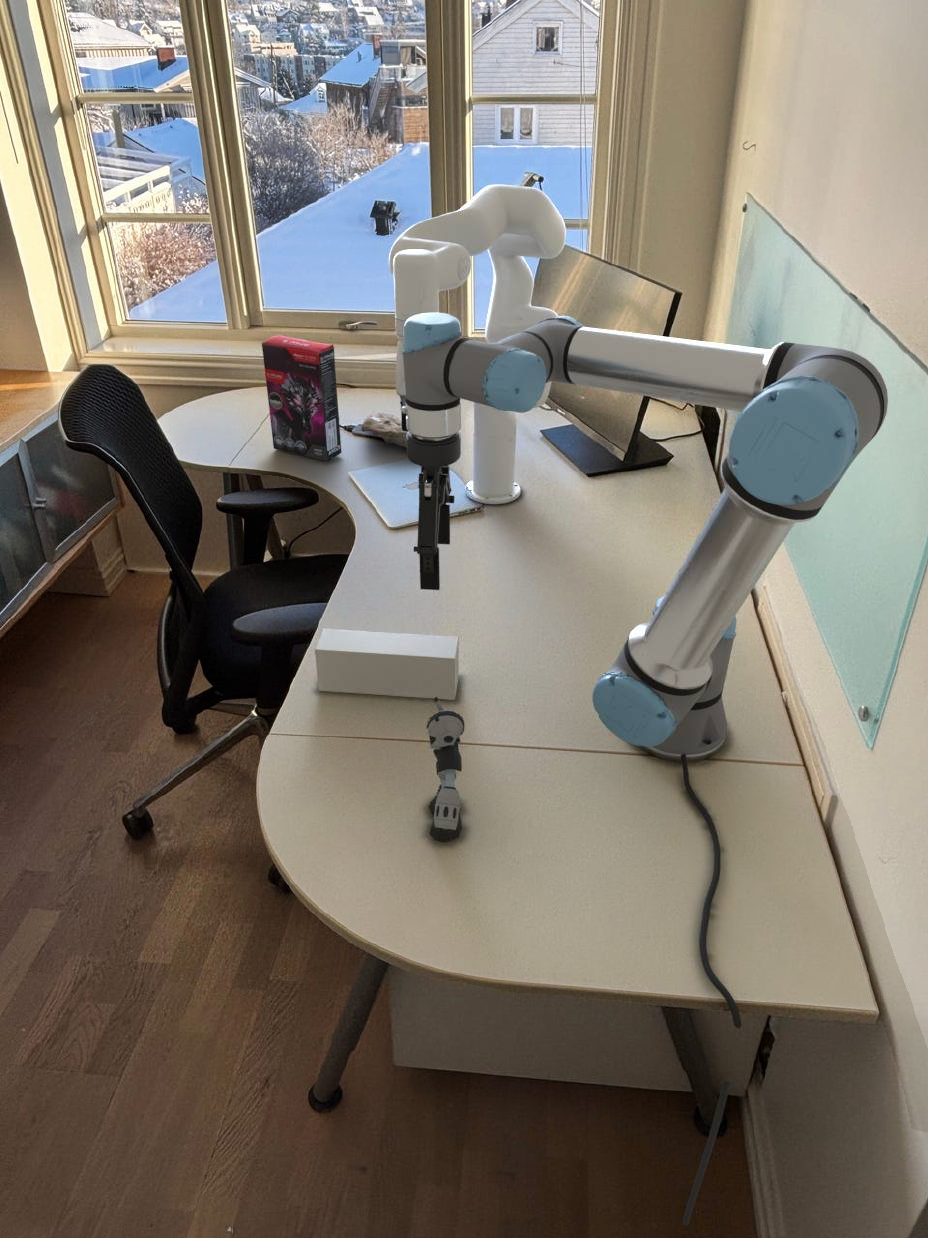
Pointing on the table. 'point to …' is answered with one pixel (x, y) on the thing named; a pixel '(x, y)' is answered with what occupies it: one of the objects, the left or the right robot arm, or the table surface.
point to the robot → (446, 772)
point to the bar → (387, 663)
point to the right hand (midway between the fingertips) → (435, 564)
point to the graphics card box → (302, 396)
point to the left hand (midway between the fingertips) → (419, 421)
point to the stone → (386, 428)
